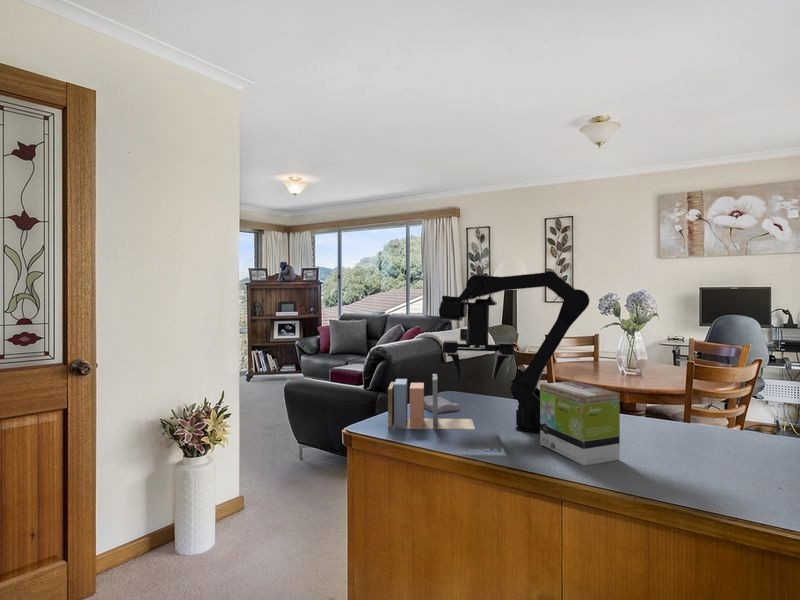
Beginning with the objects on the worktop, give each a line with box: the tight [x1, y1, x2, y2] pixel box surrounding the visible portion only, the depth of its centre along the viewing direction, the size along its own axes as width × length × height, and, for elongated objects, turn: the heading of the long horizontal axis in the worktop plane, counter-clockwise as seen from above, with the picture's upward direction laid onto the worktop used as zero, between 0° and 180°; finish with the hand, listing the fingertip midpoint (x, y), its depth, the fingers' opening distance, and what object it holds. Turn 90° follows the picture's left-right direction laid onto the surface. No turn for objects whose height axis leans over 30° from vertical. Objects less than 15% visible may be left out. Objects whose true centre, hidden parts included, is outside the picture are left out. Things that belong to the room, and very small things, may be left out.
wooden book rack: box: [387, 381, 476, 430], centre depth 132 cm, size 22×10×11 cm, turn 86°
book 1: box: [394, 378, 408, 427], centre depth 133 cm, size 3×8×11 cm, turn 176°
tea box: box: [539, 380, 621, 467], centre depth 112 cm, size 15×10×15 cm, turn 21°
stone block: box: [424, 395, 460, 414], centre depth 150 cm, size 12×5×10 cm
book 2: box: [409, 382, 425, 427], centre depth 132 cm, size 4×8×10 cm, turn 176°
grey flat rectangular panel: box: [432, 373, 439, 427], centre depth 132 cm, size 1×9×12 cm, turn 176°
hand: (476, 379), depth 136 cm, fingers open, 9 cm apart
